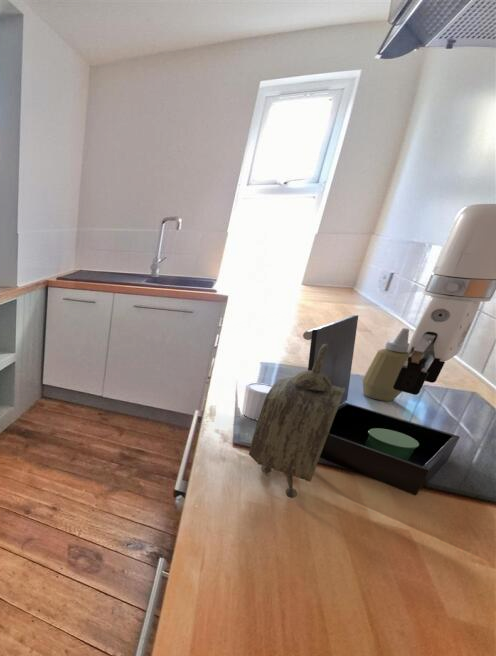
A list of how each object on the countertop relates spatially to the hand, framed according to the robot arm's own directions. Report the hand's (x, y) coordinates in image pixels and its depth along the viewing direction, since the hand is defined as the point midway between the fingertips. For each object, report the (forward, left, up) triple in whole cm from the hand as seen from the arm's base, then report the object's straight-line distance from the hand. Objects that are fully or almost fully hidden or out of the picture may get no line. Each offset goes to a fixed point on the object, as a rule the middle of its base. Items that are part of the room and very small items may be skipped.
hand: (414, 385), depth 73 cm
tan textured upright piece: (+8, +22, -16) cm, 28 cm away
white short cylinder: (+23, 0, -16) cm, 28 cm away
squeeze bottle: (+11, -37, -16) cm, 42 cm away
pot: (0, 0, -15) cm, 15 cm away
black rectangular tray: (+2, 0, -16) cm, 16 cm away
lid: (+12, 0, -1) cm, 12 cm away
